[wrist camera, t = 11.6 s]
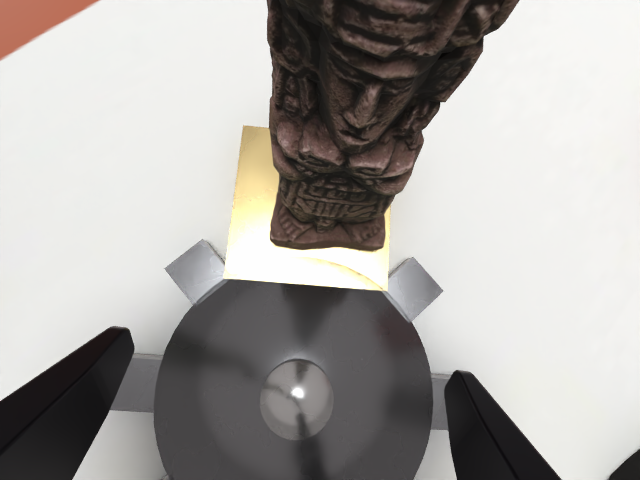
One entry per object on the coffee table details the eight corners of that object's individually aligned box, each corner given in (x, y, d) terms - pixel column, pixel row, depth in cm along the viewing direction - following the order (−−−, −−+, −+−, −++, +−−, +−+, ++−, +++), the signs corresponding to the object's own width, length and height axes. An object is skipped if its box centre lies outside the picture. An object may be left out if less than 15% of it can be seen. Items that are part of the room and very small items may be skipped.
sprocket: (468, 601, 18) (491, 641, 16) (80, 587, 17) (50, 628, 15) (466, 156, 23) (483, 142, 21) (162, 125, 22) (147, 107, 20)
